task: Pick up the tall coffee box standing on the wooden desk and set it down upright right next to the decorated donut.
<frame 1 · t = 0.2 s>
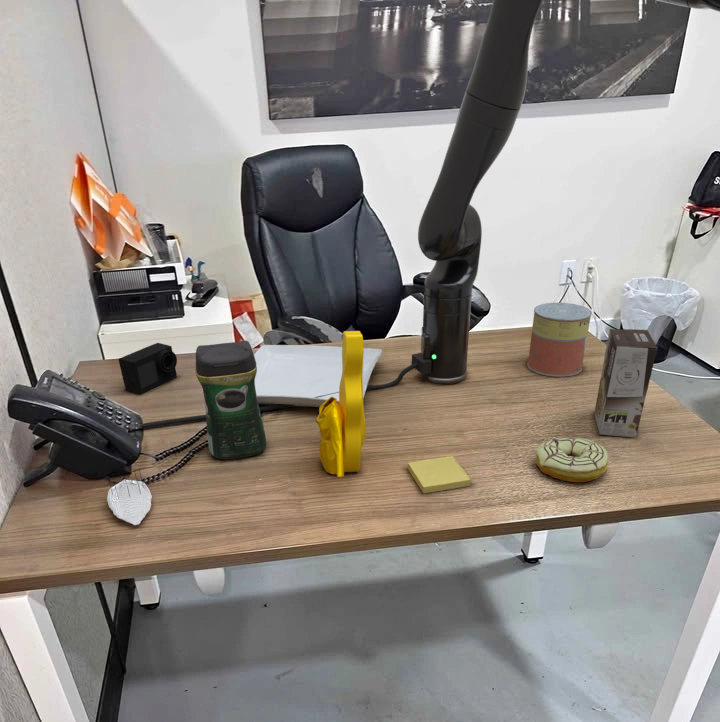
figure statuette: (342, 466, 105), on the table
square plate: (307, 386, 133), on the table
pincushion: (131, 507, 97), on the table
digital camera: (154, 385, 135), on the table
decorated donut: (569, 469, 103), on the table
canned food: (554, 367, 139), on the table
sticky note pad: (438, 477, 102), on the table
coffee box: (614, 425, 116), on the table
coffee jar: (238, 450, 111), on the table
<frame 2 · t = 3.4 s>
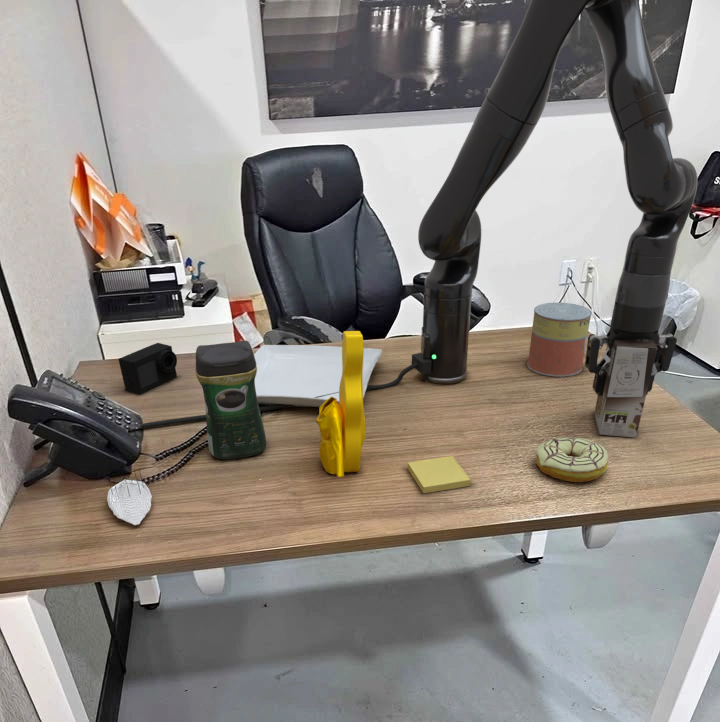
hand: (620, 393, 113), 6 cm above the table, tool pointing down, fingers closed on coffee box, 7 cm apart
coffee box: (614, 425, 116), on the table, touching gripper
everything else where it was.
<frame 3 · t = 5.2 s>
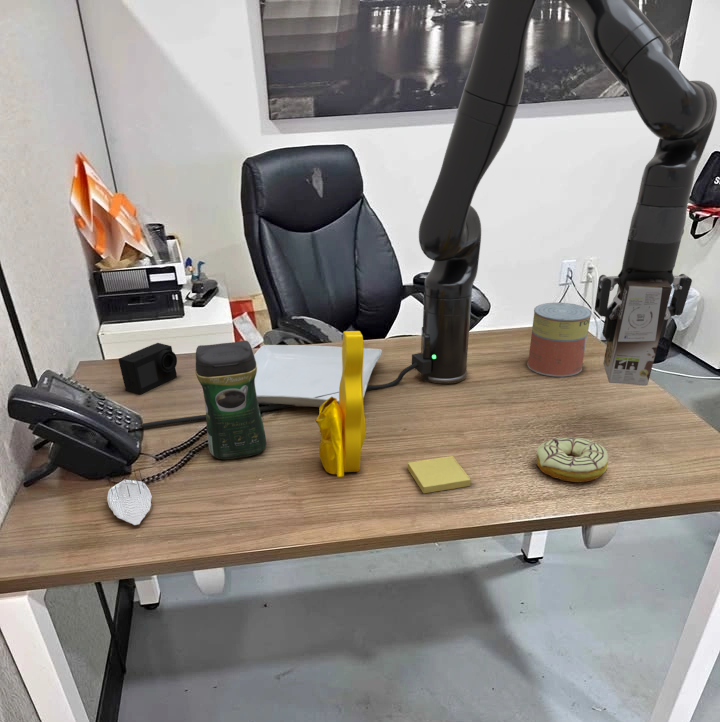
hand: (631, 339, 108), 16 cm above the table, tool pointing down, fingers closed on coffee box, 7 cm apart
coffee box: (624, 375, 111), point 9 cm above the table, touching gripper
everything else where it was.
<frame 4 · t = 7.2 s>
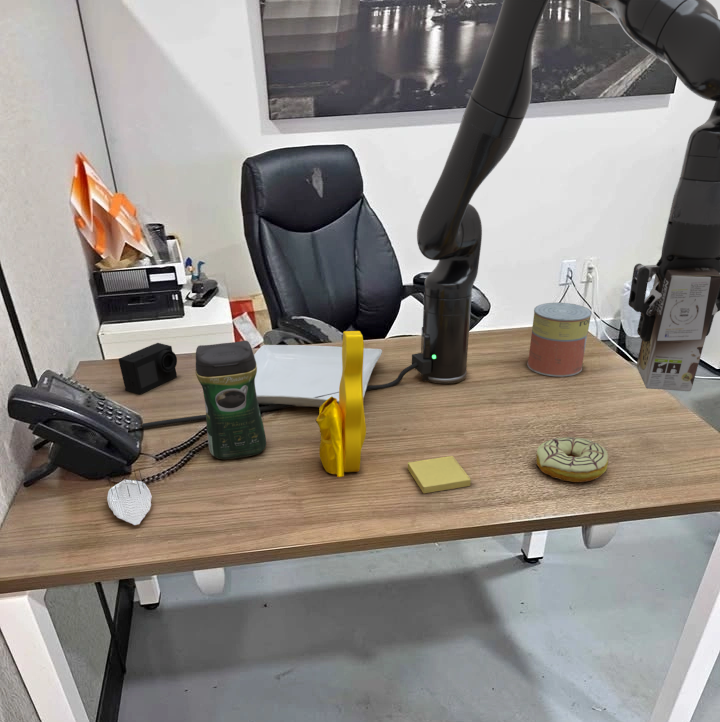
hand: (671, 338, 93), 21 cm above the table, tool pointing down, fingers closed on coffee box, 7 cm apart
coffee box: (662, 379, 96), point 15 cm above the table, touching gripper
everything else where it was.
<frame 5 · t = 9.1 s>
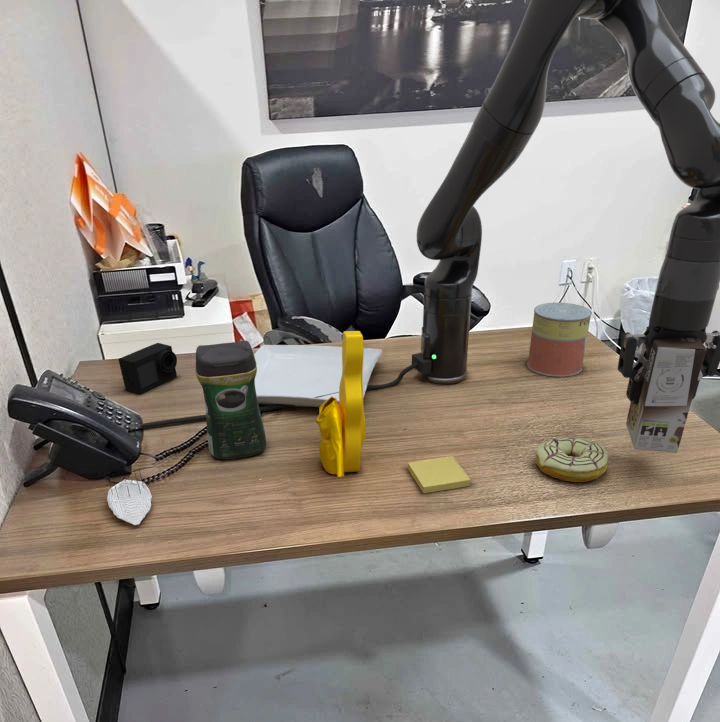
hand: (658, 401, 97), 11 cm above the table, tool pointing down, fingers closed on coffee box, 7 cm apart
coffee box: (650, 438, 100), point 5 cm above the table, touching gripper
everything else where it was.
when the fingers open (6 cm above the table, at t = 11.0 s): coffee box stays where it is, on the table.
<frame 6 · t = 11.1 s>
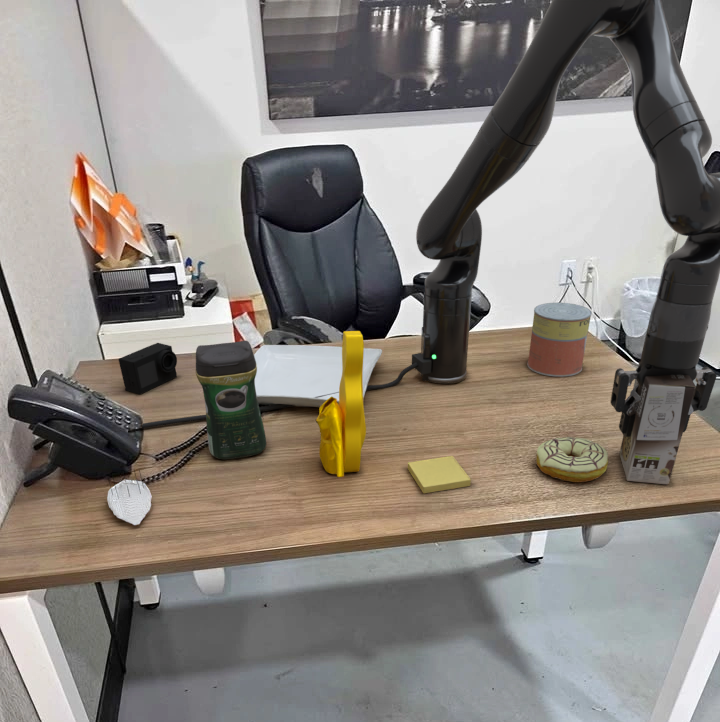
hand: (650, 434, 100), 6 cm above the table, tool pointing down, fingers open, 7 cm apart
coffee box: (642, 469, 103), on the table
everything else where it was.
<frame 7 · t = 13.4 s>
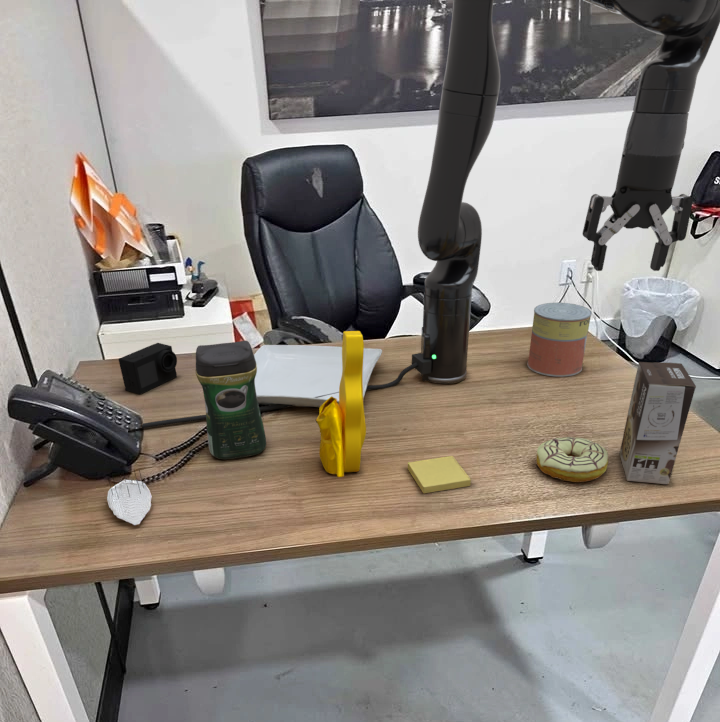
hand: (625, 269, 98), 28 cm above the table, tool pointing down, fingers open, 8 cm apart
nothing on the table moved.
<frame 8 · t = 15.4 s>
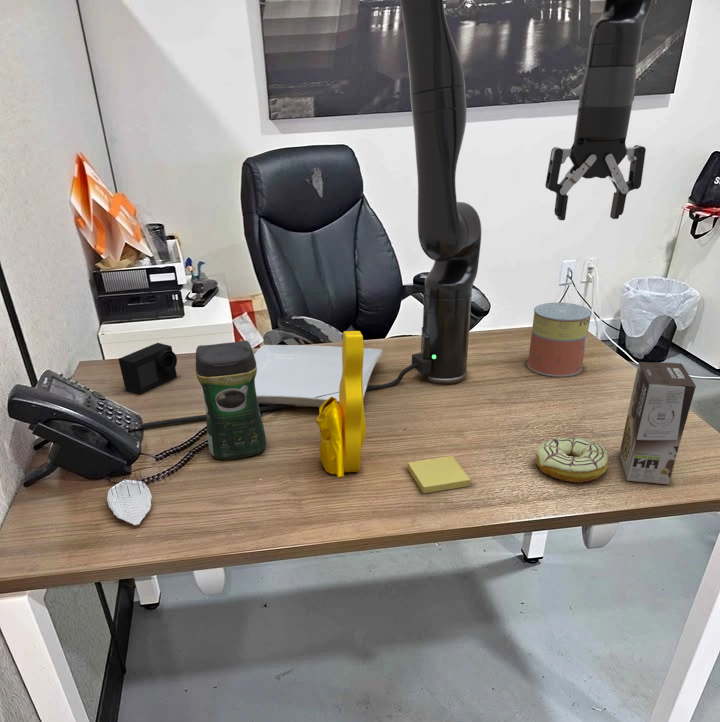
hand: (587, 218, 105), 33 cm above the table, tool pointing down, fingers open, 8 cm apart
nothing on the table moved.
at the end: coffee box 11.5 cm from the decorated donut (horizontally); coffee box tilted 0°; coffee box moved 14.9 cm from its start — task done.
